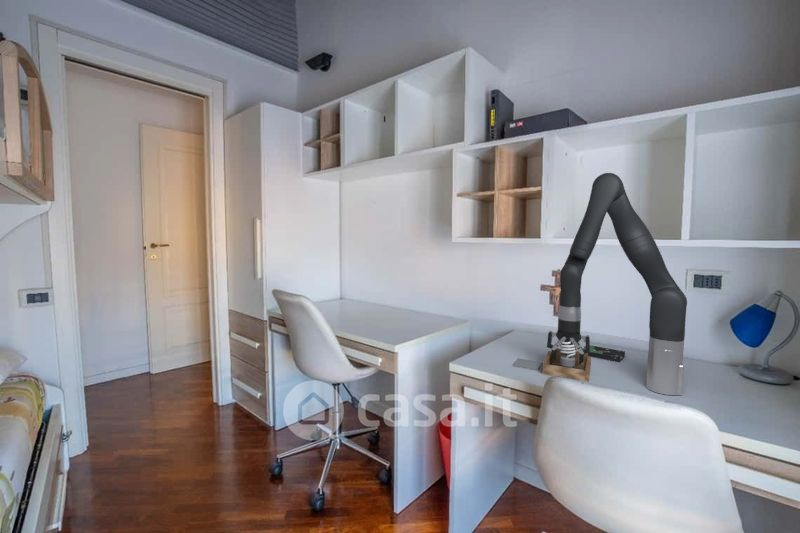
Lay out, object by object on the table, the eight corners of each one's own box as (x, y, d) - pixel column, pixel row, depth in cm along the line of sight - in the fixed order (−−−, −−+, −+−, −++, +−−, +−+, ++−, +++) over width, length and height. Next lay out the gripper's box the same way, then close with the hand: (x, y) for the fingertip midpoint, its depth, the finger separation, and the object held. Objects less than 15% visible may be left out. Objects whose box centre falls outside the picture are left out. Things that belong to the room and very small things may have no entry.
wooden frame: (590, 368, 144) (591, 352, 143) (588, 381, 131) (589, 364, 130) (548, 361, 151) (548, 347, 151) (542, 374, 138) (543, 357, 137)
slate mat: (541, 363, 149) (541, 361, 149) (537, 370, 142) (538, 368, 141) (518, 359, 154) (518, 358, 154) (513, 366, 146) (513, 364, 146)
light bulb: (575, 374, 137) (577, 342, 136) (558, 372, 139) (560, 340, 138) (574, 369, 143) (576, 338, 142) (558, 367, 145) (560, 336, 144)
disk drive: (624, 357, 159) (586, 350, 169) (625, 351, 159) (586, 344, 168) (619, 364, 151) (579, 355, 161) (620, 357, 151) (580, 349, 160)
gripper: (591, 318, 139) (589, 361, 141) (549, 314, 146) (548, 355, 147) (590, 322, 133) (588, 368, 134) (547, 317, 139) (545, 361, 141)
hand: (567, 361), depth 141 cm, fingers open, 8 cm apart
